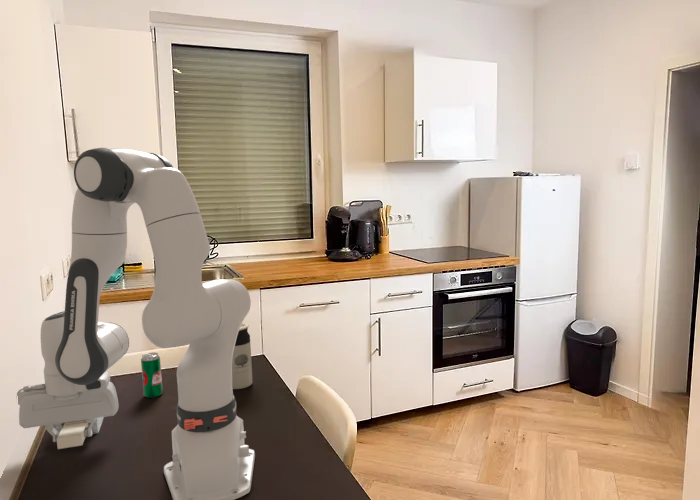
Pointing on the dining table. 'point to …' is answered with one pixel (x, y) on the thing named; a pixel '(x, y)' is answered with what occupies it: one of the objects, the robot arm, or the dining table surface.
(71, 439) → the ticket
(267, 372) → the dining table surface
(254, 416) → the dining table surface
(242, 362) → the white bottle
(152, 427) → the dining table surface
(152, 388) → the soda can
